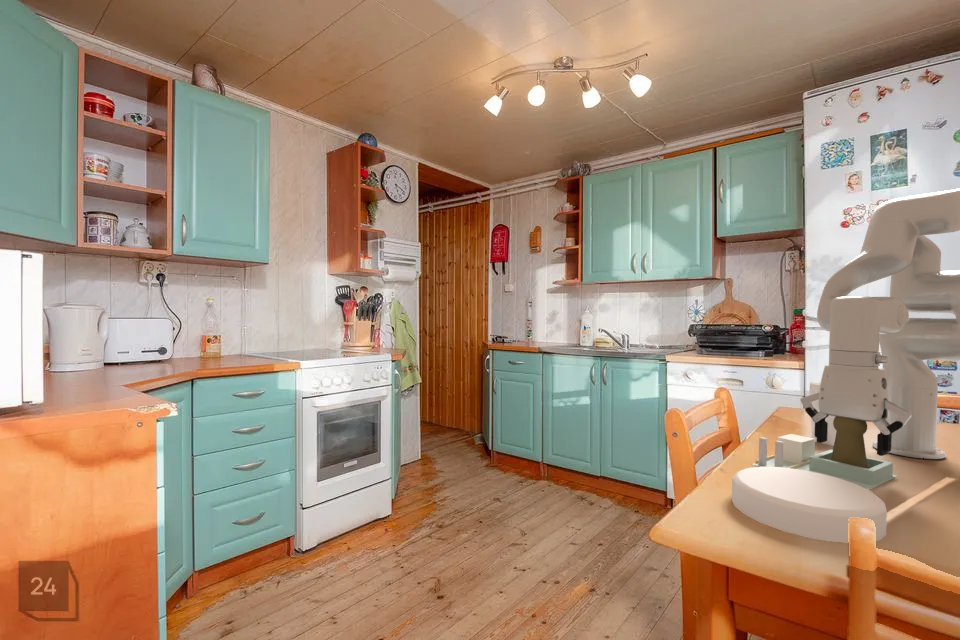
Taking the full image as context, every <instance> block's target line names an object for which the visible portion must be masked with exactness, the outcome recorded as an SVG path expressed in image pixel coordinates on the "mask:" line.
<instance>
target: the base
mask: <svg viewBox="0 0 960 640" xmlns="http://www.w3.org/2000/svg"><path fill="white" fill-rule="evenodd" d="M783 446H784V442H782V441H777V440H775V441H774V454H772V455H768V438H767V437H763V436H762V437H761V436H760V437H758V459H756V460H755V463H751V465H752V466H755V467H783V468H792V469H800V470H805V471H811V472H816V473H820V474H824V475H828V476H832V477H836V478H839V479H842V480H845V481H848V482H851V483H854V484H857V485H859V486H861V487H863V488H865V489H867V490H869V491H871V490H873V489H875V488H877V487H879V486H880V485H882V484H884V483H886V482H888V481H890V480H893V479H894V478H896V477H898V475H897V474H893V473H894V472H893V471H894V470H893V469H894V463H893V462H891V461H886V460H883V459H882V460H881V459H878V458H873V457H867V456H866V459H867V466H868V469H866V468H862V467H857V466H853V465H849V464H844V463H840V462H836V461H832V460H831V458H832V453H833V449H828V450H825V451H822V452H820V453H816V454H815V455H813V456H810V457H809V460H808V461H805V462H802V463H799V464H797V463H793V462H789V461H785V460H783Z"/></svg>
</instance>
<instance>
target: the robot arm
mask: <svg viewBox="0 0 960 640" xmlns="http://www.w3.org/2000/svg"><path fill="white" fill-rule="evenodd" d="M959 231H960V188H956V189H950V190H944V191H943V190H942V191H937V192H930V193H923V194H916V195H908V196H905V197H904V196H903V197H898V198H893V199H891V200H888V201H884V202H882V203H881V204H879V205H878V206H877V207H876V208H875V209H874V210H873V212H872V214H871V216H870V220H869V223H868V227H867V230H866V232H865V235H864V237H865V238H864V240H863V243H862V247H861V250H860V254H859V255H858V256H856V257H855V258H854V259H852V260H850V261H849V262H847V263H846V264H844V265H843V266H842V267H841V268H839V269H838V270H837V271H835V273H834V274H832V275H831V277H830V278H829V279H828V280H827V281H826V283H825V285H824V288H823V290H822V294H821V296H820V299H819V303H818V306H817V311H816V313H817V314H816V319H817V322H818V325H819V326H820V327H821V328H822V330H824V331H826V332H829V336H828V337H829V338H828V339H829V342H828V343H829V346H828V364H825V365H824V368H823V372H822V375H821V379H820V382H821V384H820V391H819V393H816V394H813V395H810V396H809V395H806V396H804V397H801V398H800V402H801V405H802V407H803V408H804V411H805V413H806V414H807V415H808V416H809V417H810V419H811V418H812V420H813V422H815V437H817V442H818V444H822V442H825V441H827V432H828V423H827V422H826V421H825V419H826V418H827V417H829V416H836V417H843V418H850V419H854V420H860V421H866V423H872V424H873V425H874V426H875V428H877V429H878V430H879V433H877V437H876V438H877V439H875V440H873V441H872V447H873V448H875V449H876V455H878V456H880V457H883V456H886V455H888V453H889V454H893V455H897V456H903V457H909V458H916V459H923V458H924V459H926V460H942V459H945V458H946V452H945V451H944V450H942V449H940V448H938V447H937V427H938V426H937V425H938V424H937V421H938V419H937V418H938V415H937V414H938V387H939V386H938V378H937V376H936V374H935V373H934V371H933V370H932V369H931V368H930V367H929V366H928V365H927V364H926V363H925V362H924V360H925V361H926V360H927V361H931V360H932V361H945V362H960V269H959V270H941V265H942V264H941V262H942V252H941V248H940V247H939V246H938V245H937V244H936V243H935V242H934V241H933V240H931V239H930V238H929V237H927V236H929V235H939V234H948V233H955V232H956V233H957V232H959ZM888 277H890V285H889V286H890V287H889V288H890V289H889V296H864V295H863V296H862V295H861V296H857V295H856V296H855V295H854V296H848V295H849V294H851V292H853V291H854V290H856V289H858V288H861V287H863V286H865V285H867V284H871V283H873V282H876V281H879V280H882V279H885V278H888ZM909 313H917V314H918V313H919V314H920V313H921V314H922V313H923V314H926V313H929V314H930V313H931V314H932V313H936V314H939V313H942V314H953V315H955V318H943V317H942V318H932V317H910V314H909ZM880 351H881V352H880ZM881 365H882V368H879V367H880V366H881ZM816 400H819V410H820V412H818V411H817V410H816V409H815V408H814V407H813V406H812V402H813V401H816ZM817 442H816V443H817Z"/></svg>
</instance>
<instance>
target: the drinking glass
mask: <svg viewBox="0 0 960 640" xmlns="http://www.w3.org/2000/svg"><path fill="white" fill-rule="evenodd" d="M820 384H821V381H812V382H811V381H810V383H809V391H808V394H809V395H808V396H810V395H813V394H816V393H819V391H820ZM812 406H813V407H814V408H815V409H816V410H817V411H818V412H820V410H819V400H816V401H813V402H812ZM835 417H836V416H829V417H827V418H826V419H825V421H826V422H827V423H828V432H827V441H825V442H822V443H821V444H822V445H823V444H824V445H827V446H832V447H834V442H835V437H836V432H837V431H836V429H835V428H834V425H833V421H834V418H835ZM810 427H811V438H814V439H815V443H818V442H817V437H815V422H813V420H812V418H811V417H810ZM818 444H819V443H818Z"/></svg>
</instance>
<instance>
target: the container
mask: <svg viewBox="0 0 960 640" xmlns="http://www.w3.org/2000/svg"><path fill="white" fill-rule="evenodd" d="M731 501H732V504H733V506H734V507H735V508H736V509H737V510H739V512H741V513H743V514H744V515H745V516H747V517H749V518H750V519H753V520H754V521H757V522H759V523H760V524H762V525H765V526H769V527H771V528H772V529H773V528H774V529H776V530H778V531H779V530H780V531H782V532H785V533H789V534H791V535H796V536H800V537H803V538H808V539H811V540H819V541H825V542H831V541H832V542H833V543H837V542H843V544H849V543H848V523H849V521H848V519H849V517H860V518H868V519H871V520H873V521H874V523H875V527H876V541H875V542H879V541H881V540H882V539H883V538H884V537H886V536H887V519H888V518H887V513H888V511H887V506H886V503H885V502H884V501H883V500H882V499H881V498H880V497H879V496H877V495H876V494H875V493H873V492H872V491H871V490H867V489H865V488H863V487H861V486H859V485H857V484H854V483H851V482H848V481H845V480H842V479H839V478H836V477H832V476H828V475H824V474H820V473H816V472H811V471H805V470H800V469H792V468H783V467H759V466H755V467H754V466H751V467H746V468H744V469H742V470H739V471H737V472H736V473H735V474H734V475H733V477H732V478H731ZM832 542H831V543H832ZM844 542H845V543H844Z"/></svg>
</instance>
